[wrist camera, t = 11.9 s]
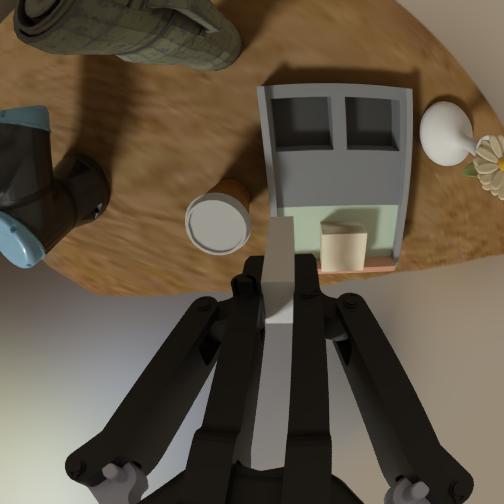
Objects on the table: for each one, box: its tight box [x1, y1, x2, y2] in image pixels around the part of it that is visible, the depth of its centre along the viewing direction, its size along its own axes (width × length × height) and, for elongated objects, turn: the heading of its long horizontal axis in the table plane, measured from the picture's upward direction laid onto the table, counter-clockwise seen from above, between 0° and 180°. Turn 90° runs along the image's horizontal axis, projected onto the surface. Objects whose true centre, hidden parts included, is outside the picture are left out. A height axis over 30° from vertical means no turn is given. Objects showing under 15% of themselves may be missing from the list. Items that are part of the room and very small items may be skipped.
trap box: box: [257, 83, 413, 274], centre depth 40 cm, size 22×30×7 cm
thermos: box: [13, 0, 242, 71], centre depth 19 cm, size 9×12×35 cm
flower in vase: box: [420, 101, 504, 200], centre depth 26 cm, size 13×11×25 cm
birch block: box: [320, 221, 367, 272], centre depth 44 cm, size 7×7×4 cm
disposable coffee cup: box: [185, 179, 251, 255], centre depth 43 cm, size 10×10×12 cm
